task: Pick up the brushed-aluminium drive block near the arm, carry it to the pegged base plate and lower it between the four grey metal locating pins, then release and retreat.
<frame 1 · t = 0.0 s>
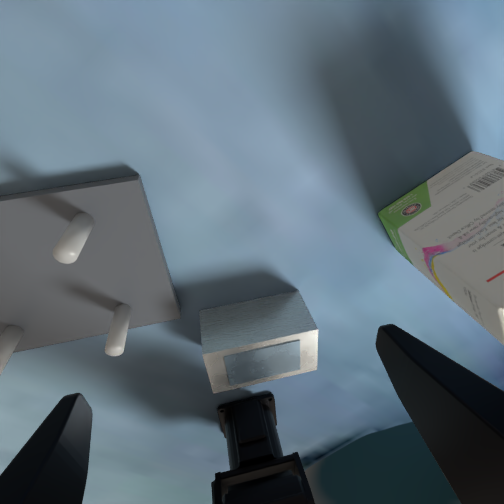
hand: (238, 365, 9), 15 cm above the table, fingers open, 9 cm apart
drive: (252, 318, 29), on the table
pegged base plate: (51, 272, 23), on the table
ink box: (429, 202, 26), on the table
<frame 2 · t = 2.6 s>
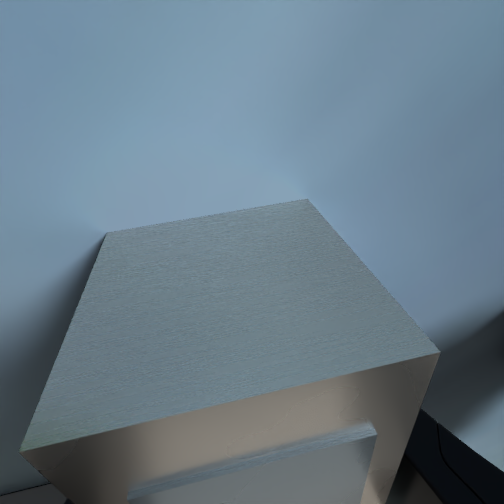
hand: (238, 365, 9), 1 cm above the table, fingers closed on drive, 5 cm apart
drive: (233, 337, 10), on the table, touching gripper
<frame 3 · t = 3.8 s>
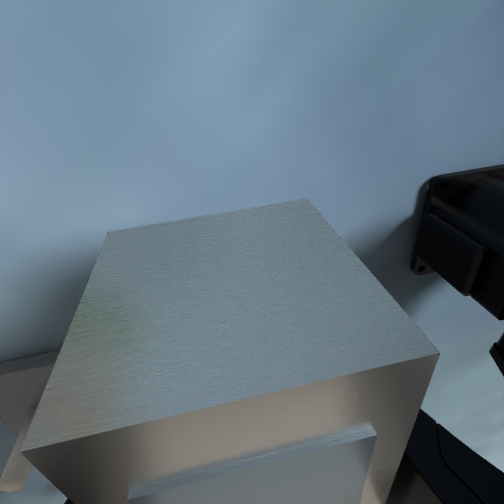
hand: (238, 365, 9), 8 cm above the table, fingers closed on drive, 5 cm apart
drive: (233, 337, 10), point 7 cm above the table, touching gripper
pegged base plate: (125, 417, 23), on the table
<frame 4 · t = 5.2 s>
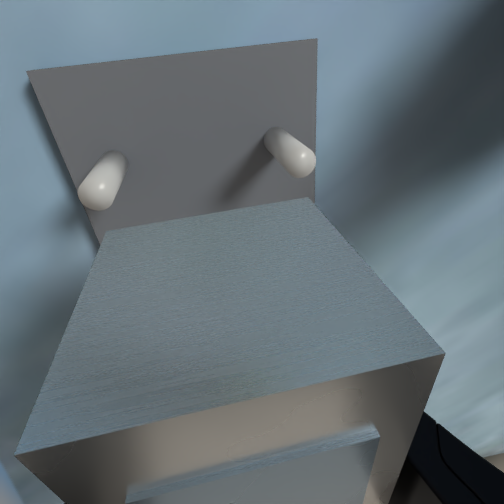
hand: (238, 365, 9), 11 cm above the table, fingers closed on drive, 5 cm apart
drive: (233, 337, 10), point 10 cm above the table, touching gripper
pegged base plate: (209, 216, 18), on the table
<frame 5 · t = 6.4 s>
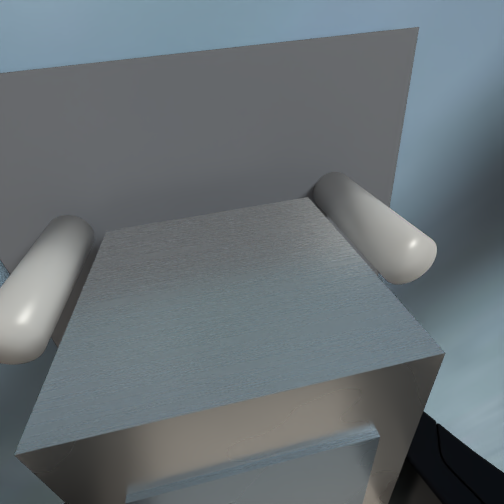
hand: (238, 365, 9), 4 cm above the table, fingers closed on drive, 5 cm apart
drive: (233, 337, 10), point 3 cm above the table, touching gripper
pegged base plate: (222, 292, 12), on the table
when the fingers open (3 cm above the table, at t = 7.5 s): drive drops 1 cm, resting on pegged base plate.
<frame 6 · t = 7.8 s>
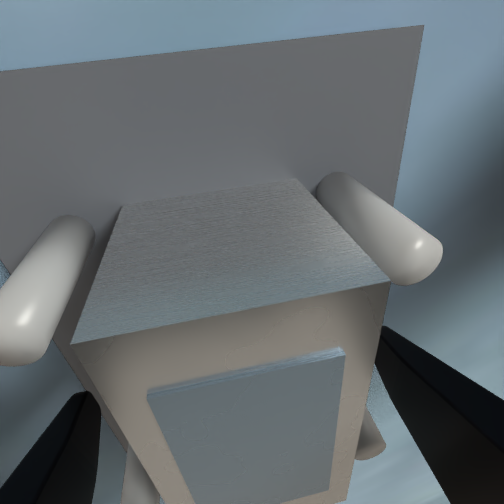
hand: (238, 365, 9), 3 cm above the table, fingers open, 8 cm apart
drive: (231, 307, 11), point 1 cm above the table, touching pegged base plate
pegged base plate: (224, 292, 12), on the table
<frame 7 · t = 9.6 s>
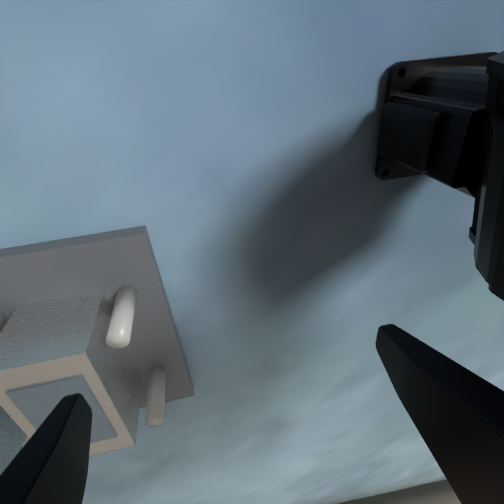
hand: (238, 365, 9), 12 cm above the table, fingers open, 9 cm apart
drive: (87, 346, 22), point 1 cm above the table, touching pegged base plate
pegged base plate: (89, 337, 23), on the table
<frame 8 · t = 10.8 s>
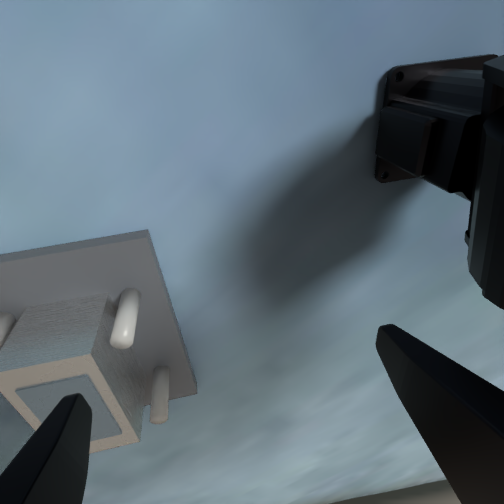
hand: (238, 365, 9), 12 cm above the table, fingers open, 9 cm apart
drive: (94, 346, 22), point 1 cm above the table, touching pegged base plate
pegged base plate: (95, 337, 23), on the table
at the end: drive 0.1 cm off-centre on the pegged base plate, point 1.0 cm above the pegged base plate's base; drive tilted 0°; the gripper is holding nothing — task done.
